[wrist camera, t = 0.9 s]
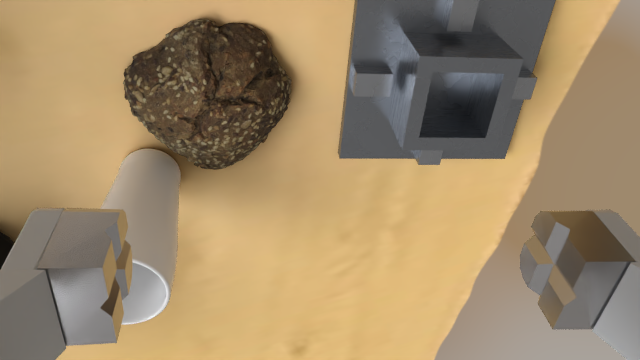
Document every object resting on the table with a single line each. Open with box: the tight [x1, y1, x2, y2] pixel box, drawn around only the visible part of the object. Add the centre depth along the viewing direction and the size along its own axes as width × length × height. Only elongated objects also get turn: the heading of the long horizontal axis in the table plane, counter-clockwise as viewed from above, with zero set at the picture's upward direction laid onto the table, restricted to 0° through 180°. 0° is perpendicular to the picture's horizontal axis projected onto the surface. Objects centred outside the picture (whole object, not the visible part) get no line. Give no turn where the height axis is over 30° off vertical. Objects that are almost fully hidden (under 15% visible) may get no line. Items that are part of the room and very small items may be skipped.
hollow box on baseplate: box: [338, 0, 556, 165], centre depth 44 cm, size 16×16×6 cm
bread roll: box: [123, 19, 291, 169], centre depth 43 cm, size 13×12×5 cm
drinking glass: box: [100, 149, 181, 324], centre depth 43 cm, size 7×7×15 cm
